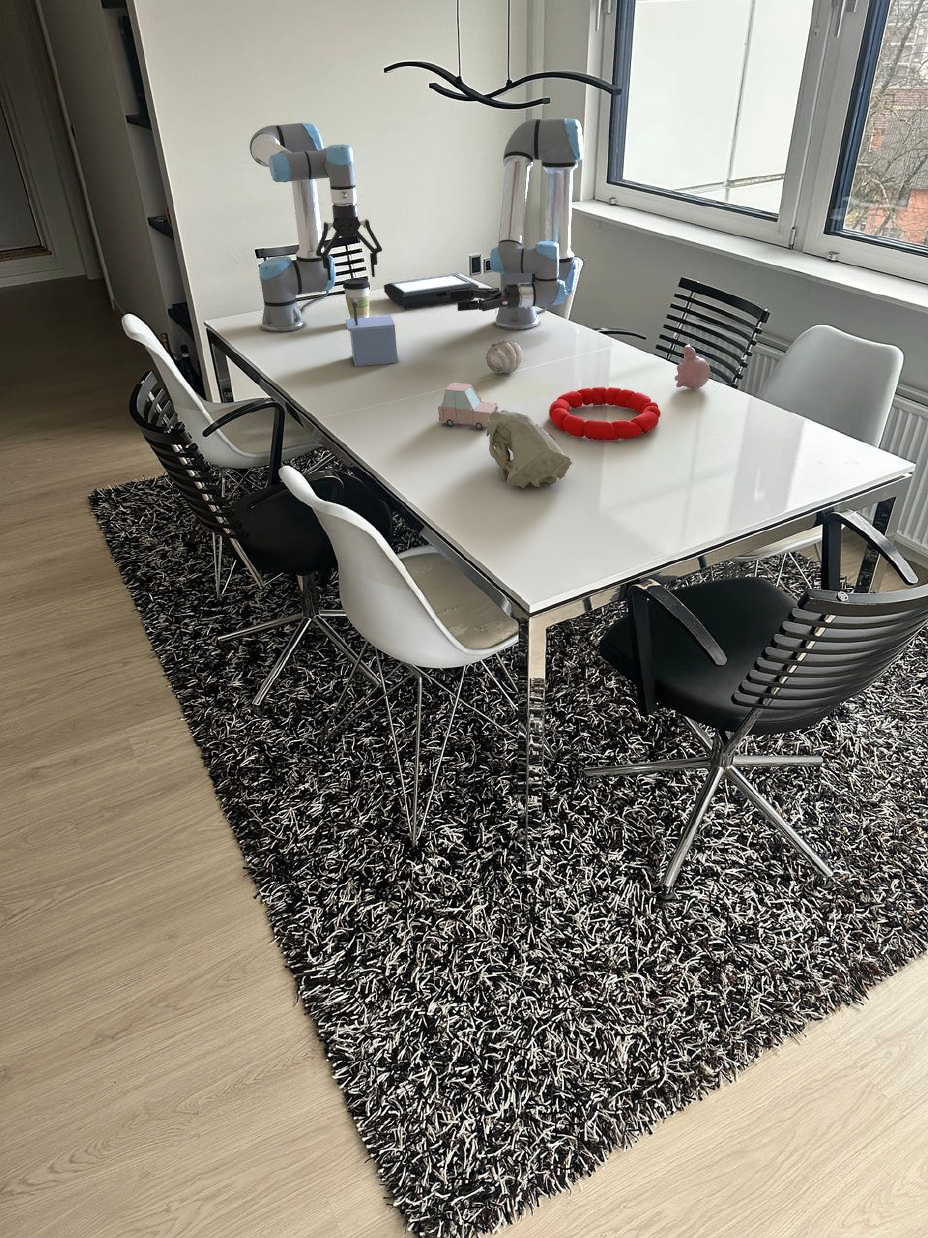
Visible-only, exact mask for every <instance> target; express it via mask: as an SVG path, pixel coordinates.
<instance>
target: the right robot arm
mask: <svg viewBox="0 0 928 1238" xmlns="http://www.w3.org/2000/svg"><path fill="white" fill-rule="evenodd" d="M581 126H582V125H581V122H580V121H579V120H578V119H576V118H566V117H563V118H531V119H527V120H525V121H524V122H522V123H521V124H519V125H518V126H517V128H515V129H514V131H513V132H512V134H511V135H510V137H509V139H508V141H507V143H506V145H505V148H504V152H503V160H502V165H503V167H504V168H505V171H504V182H503V191H502V193H503V194H502V202H501V214H500V221H499V232H498V233H499V234H498V246H497V247H493V248H491V250H490V253H489V263H490V264H489V266H490V269H491V271H492V272H493V273H497V274H498V273H499V275H500V288H499V287H479V288H475V287H470V289H469V290H457V291H450V300H458V299H472V298H474V299H476V300H474V299H473V300H466V301H459V302H456V303H457V305H456V307H457V312H465V311H478V310H479V311H481V312H488V311H491V310H494V314H495V315H496V316H495V326H497V327H498V328H501V329H505V330H512V331H516V330H517V331H519V330H520V331H521V330H528V329H533V328H535V327H537V326H538V325H539V316H538V314H541V313H542V312H545V311H547V310H548V307H547V306H549V307H551V306H556V305H561V304H563V303H564V302H565V299H566V296H570V295H571V294H572V293H573V292H574V289H575V284H576V280H577V274H578V267H579V260H578V259H576V258H575V253H574V252H573V251H572V250H571V230H572V229H571V226H572V225H571V224H572V202H573V201H572V200H573V175H574V174H573V173H574V171H575V170H576V168H577V167H578V166H579V165H578V163H579V161H581V160H583V156H584V152H583V151H584V143H583V142H584V141H583V131H582V127H581ZM534 161H541V167H542V169H543V170H544V171H545V174H546V175H545V215H544V216H545V219H544V241H543V240H542V241H541V240H540V241H538V242H536V244H535V247H534V248H533V247H532V248H526V247H525V248H524V247H523V248H522V245H523V236H524V235H523V234H524V225H525V213H526V204H527V192H528V183H529V175H530V174H529V173H530V172H529V171H530V170H531V169H532V167H533V165H534ZM544 306H545V307H544ZM536 307H544V308H543V309H541V310H537V309H536ZM497 309H498V310H497Z"/></svg>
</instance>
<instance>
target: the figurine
mask: <svg viewBox="0 0 928 1238" xmlns="http://www.w3.org/2000/svg"><path fill="white" fill-rule="evenodd" d="M682 354H683V358H684V359H683V361H682V362H679V363H678V364H677V365H676V372H677V375H675V376H674V381H675V382H676V381H677V382H676V384H675V386H676V388H681V387H686V388H688V389H693V390H694V389H695V390H696V389H700V388H703V387H704V386H705V385H706V384H707V383H708V382H709V379H710V377H711V367H710V364H709V362H708V361H706V359H704V358H702V357H700V356H697V353H696V350H695V349H694V347H692V345H690V344H686V345H685V346H684V347H683V348H682Z"/></svg>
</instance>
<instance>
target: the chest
mask: <svg viewBox="0 0 928 1238" xmlns="http://www.w3.org/2000/svg"><path fill="white" fill-rule="evenodd" d="M349 337H350V345H351V356H352V360H353V363H354V367H366V366H377V365H387V364H397V363H398V349H397V347H398V346H397V333H396V327H395V328H384V329H373V330H361V331H350V332H349Z"/></svg>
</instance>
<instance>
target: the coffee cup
mask: <svg viewBox="0 0 928 1238" xmlns="http://www.w3.org/2000/svg"><path fill="white" fill-rule="evenodd" d="M370 287H371V283H370V282H369V279H367V278H365V277H351V278H347V279H345V280H344V281H343V285H342V288H343V290H344V297H345V301H346V305H347V310H348V314H349V319H354V313H353V306H352V303H351V298H355V299H356V301H357V304H358V305H357V307H356V310H357V319H358V318H370V316H369V313H370Z"/></svg>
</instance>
